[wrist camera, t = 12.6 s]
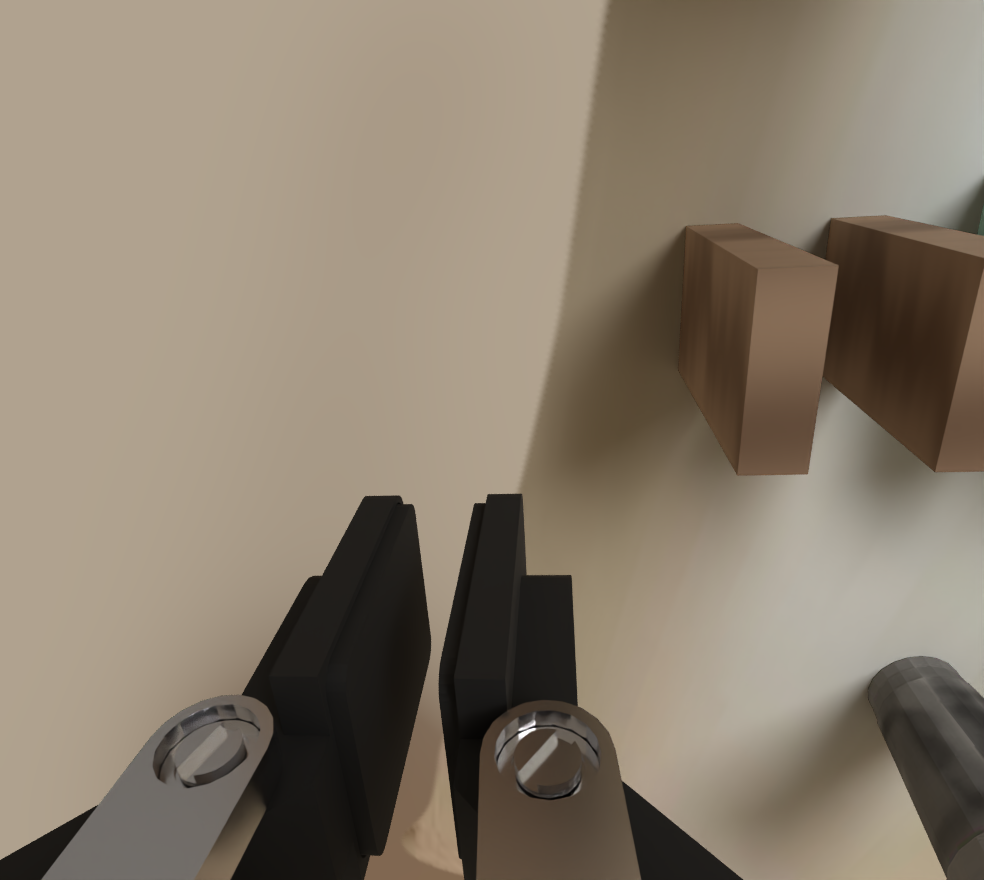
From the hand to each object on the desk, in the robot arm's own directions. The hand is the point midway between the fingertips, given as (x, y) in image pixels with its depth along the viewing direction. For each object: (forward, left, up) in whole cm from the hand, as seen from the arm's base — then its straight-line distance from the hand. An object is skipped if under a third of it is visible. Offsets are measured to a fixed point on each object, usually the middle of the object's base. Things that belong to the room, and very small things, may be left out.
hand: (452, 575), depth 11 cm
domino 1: (0, +8, -19) cm, 21 cm away
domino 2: (0, +14, -19) cm, 23 cm away
